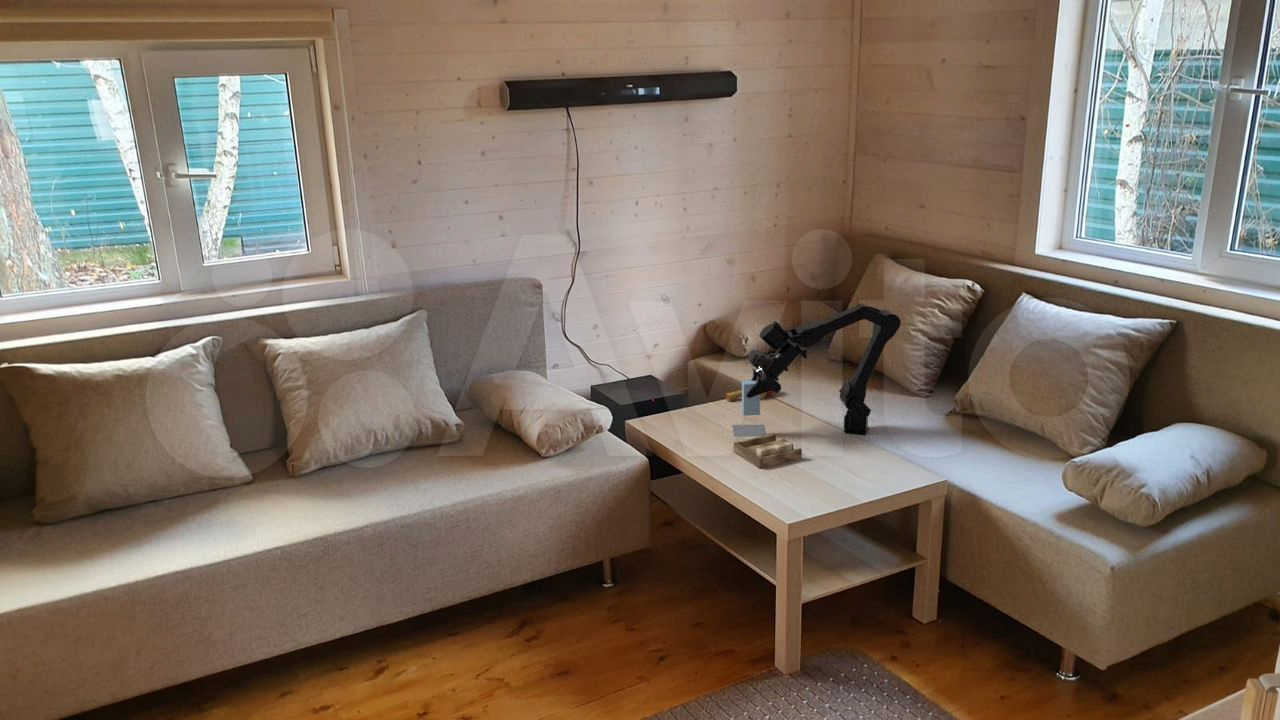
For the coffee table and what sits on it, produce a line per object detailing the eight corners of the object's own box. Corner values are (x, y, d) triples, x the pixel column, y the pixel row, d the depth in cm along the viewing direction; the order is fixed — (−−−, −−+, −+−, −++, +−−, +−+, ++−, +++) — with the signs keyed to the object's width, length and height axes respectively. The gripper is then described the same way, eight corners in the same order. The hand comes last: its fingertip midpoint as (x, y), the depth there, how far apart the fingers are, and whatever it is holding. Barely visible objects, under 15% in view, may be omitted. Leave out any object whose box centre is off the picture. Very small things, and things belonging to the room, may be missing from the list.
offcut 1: (770, 459, 277) (771, 445, 275) (775, 462, 275) (775, 447, 273) (756, 463, 274) (756, 448, 273) (760, 466, 273) (760, 451, 271)
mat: (763, 426, 304) (763, 424, 304) (766, 438, 294) (766, 436, 294) (732, 426, 304) (732, 424, 304) (734, 438, 295) (734, 436, 294)
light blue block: (757, 411, 295) (758, 380, 292) (759, 414, 292) (760, 383, 289) (741, 412, 295) (741, 381, 292) (743, 415, 292) (743, 384, 289)
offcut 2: (787, 456, 279) (787, 441, 278) (791, 458, 277) (791, 444, 276) (772, 459, 277) (772, 445, 275) (777, 462, 275) (777, 447, 274)
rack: (774, 444, 289) (774, 433, 288) (801, 460, 277) (801, 449, 276) (733, 454, 283) (733, 442, 282) (759, 470, 271) (759, 458, 270)
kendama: (734, 409, 323) (781, 394, 329) (730, 391, 322) (777, 376, 328) (725, 406, 331) (770, 391, 336) (721, 388, 329) (767, 374, 335)
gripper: (758, 333, 296) (722, 369, 299) (770, 350, 278) (733, 388, 281) (783, 356, 299) (747, 391, 301) (796, 374, 281) (759, 412, 284)
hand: (746, 395), depth 292 cm, fingers closed on light blue block, 3 cm apart
